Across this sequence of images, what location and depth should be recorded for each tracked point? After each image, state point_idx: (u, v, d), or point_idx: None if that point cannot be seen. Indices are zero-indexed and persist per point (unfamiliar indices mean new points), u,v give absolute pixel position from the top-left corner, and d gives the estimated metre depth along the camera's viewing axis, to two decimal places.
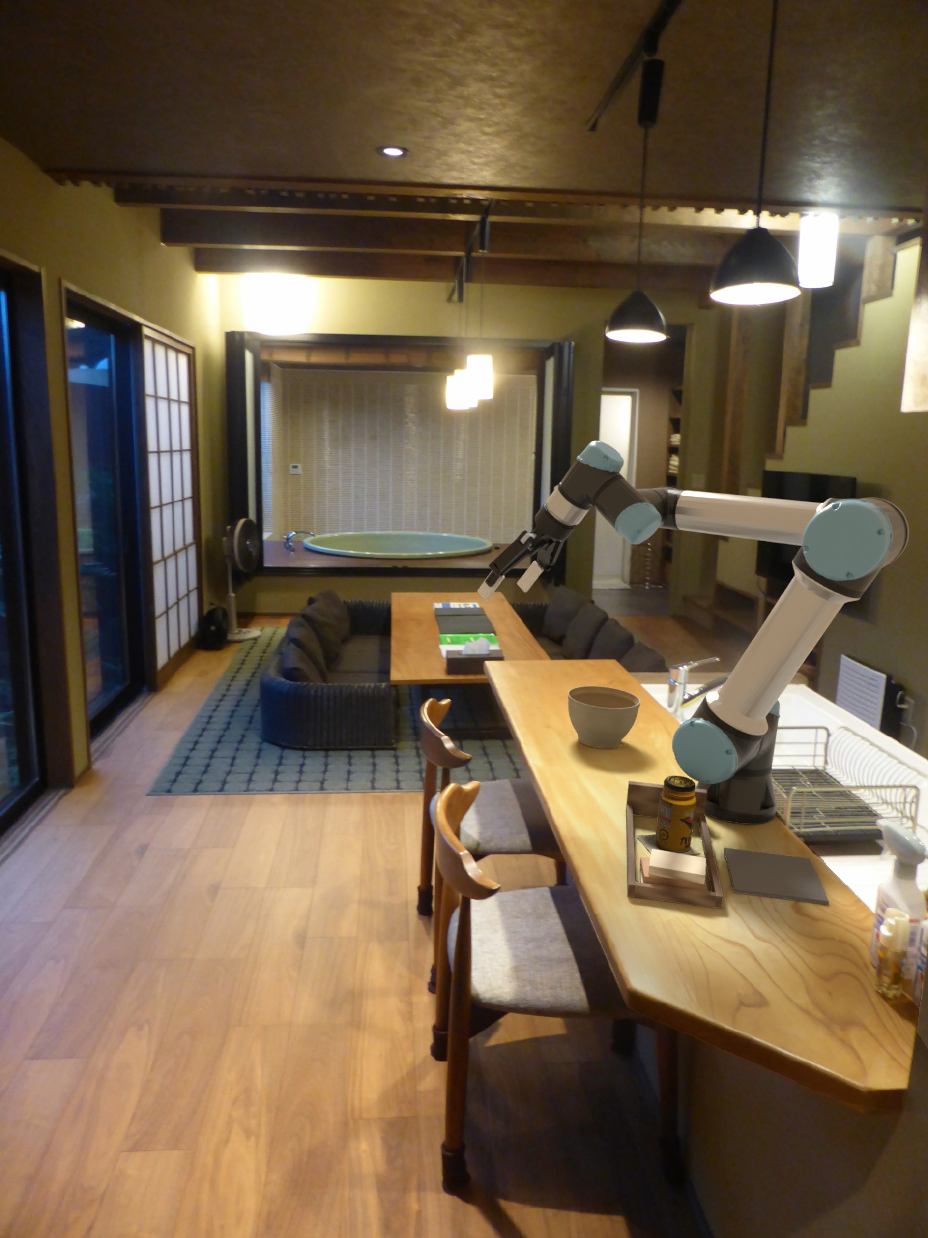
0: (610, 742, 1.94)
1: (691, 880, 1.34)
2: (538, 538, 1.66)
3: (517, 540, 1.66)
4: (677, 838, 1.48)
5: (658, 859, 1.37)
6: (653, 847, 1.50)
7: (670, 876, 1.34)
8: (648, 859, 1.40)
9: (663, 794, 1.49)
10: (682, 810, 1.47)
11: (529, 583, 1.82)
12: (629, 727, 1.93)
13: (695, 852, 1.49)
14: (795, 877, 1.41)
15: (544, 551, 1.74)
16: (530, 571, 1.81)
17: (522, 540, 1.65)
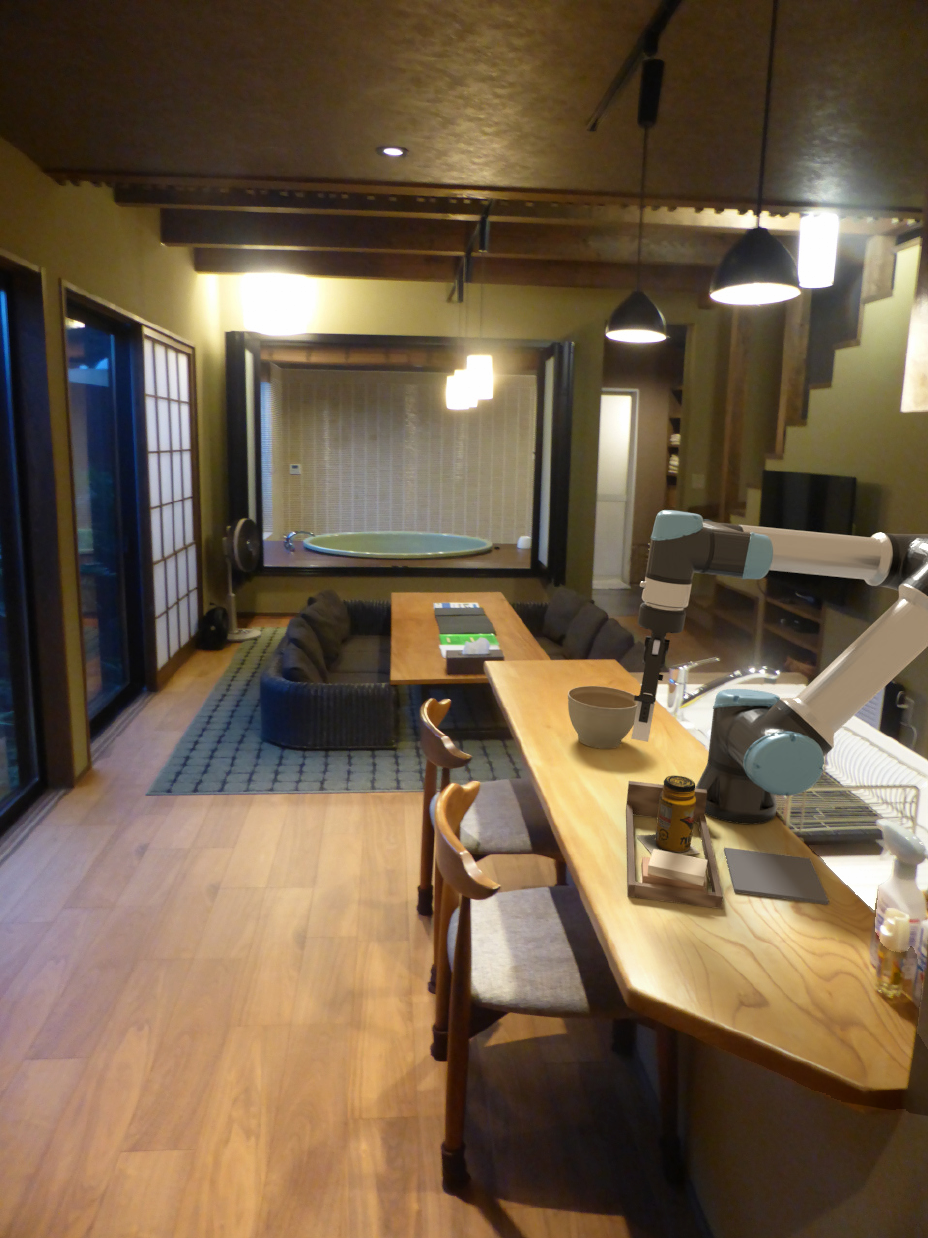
0: (610, 742, 1.94)
1: (690, 881, 1.33)
2: (663, 641, 1.41)
3: (649, 655, 1.39)
4: (677, 838, 1.48)
5: (658, 859, 1.37)
6: (653, 847, 1.50)
7: (669, 876, 1.34)
8: (649, 859, 1.40)
9: (663, 794, 1.49)
10: (682, 810, 1.47)
11: None
12: (629, 727, 1.93)
13: (695, 852, 1.49)
14: (795, 877, 1.41)
15: None
16: None
17: (654, 651, 1.39)
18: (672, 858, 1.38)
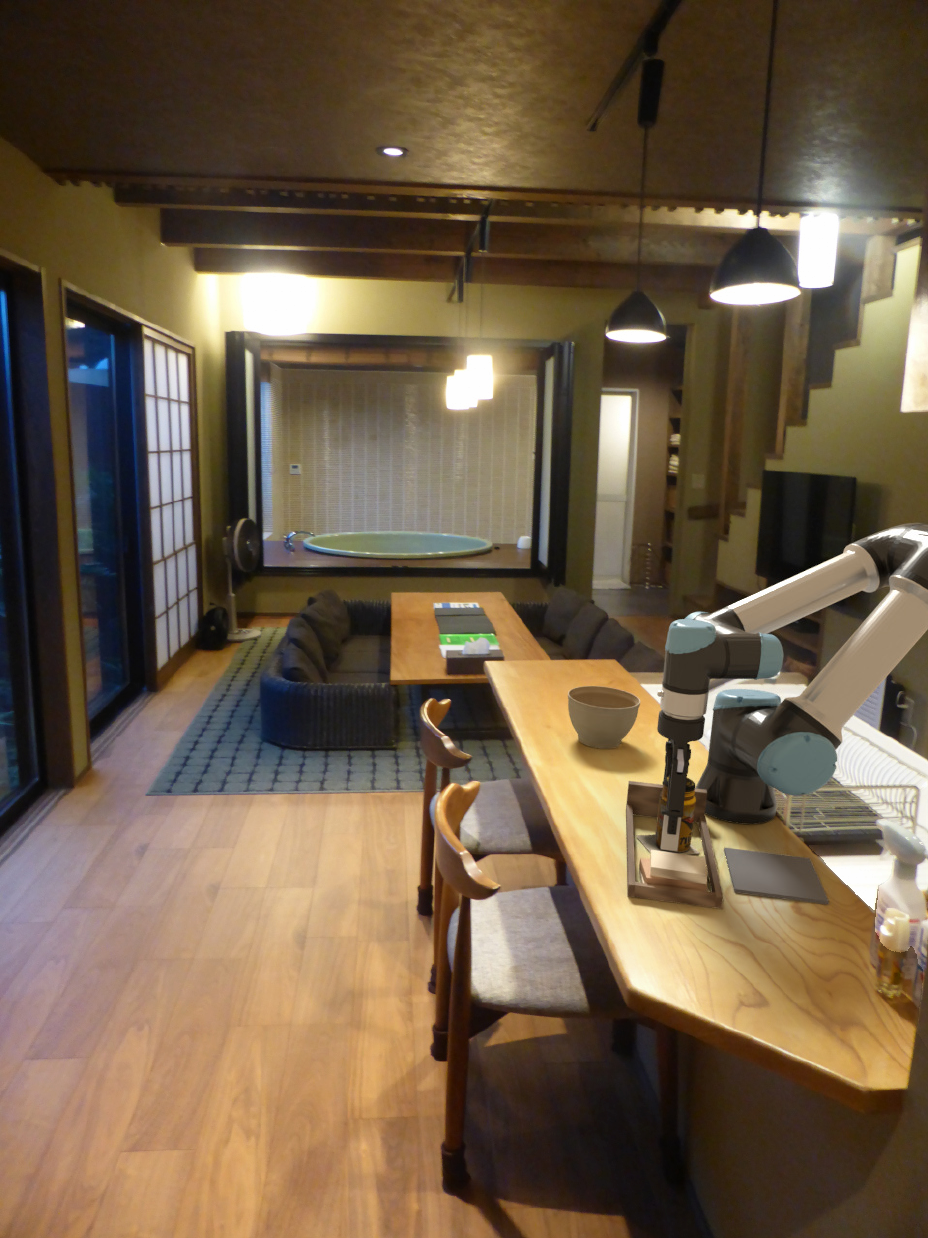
0: (610, 742, 1.94)
1: (693, 880, 1.34)
2: (686, 752, 1.43)
3: (674, 774, 1.42)
4: None
5: (659, 860, 1.37)
6: (653, 847, 1.50)
7: (672, 877, 1.34)
8: (648, 860, 1.40)
9: (663, 794, 1.49)
10: None
11: None
12: (629, 727, 1.93)
13: (695, 852, 1.49)
14: (795, 877, 1.41)
15: None
16: None
17: (679, 770, 1.42)
18: (671, 858, 1.38)
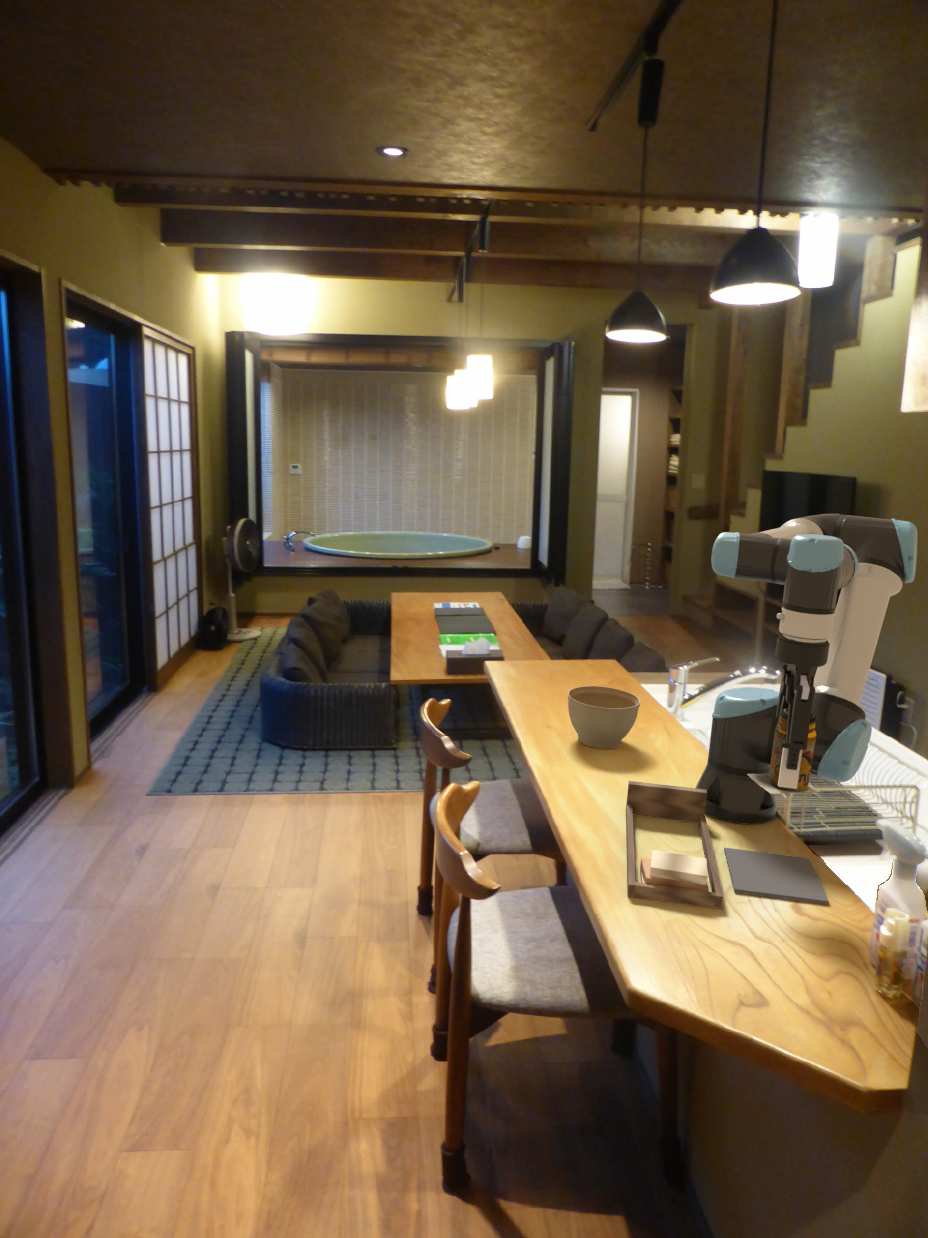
0: (610, 742, 1.94)
1: (693, 881, 1.33)
2: (810, 679, 1.31)
3: (797, 701, 1.30)
4: None
5: (659, 860, 1.37)
6: (768, 785, 1.38)
7: (672, 877, 1.34)
8: (649, 860, 1.40)
9: (780, 727, 1.37)
10: None
11: None
12: (629, 727, 1.93)
13: (815, 791, 1.37)
14: (795, 877, 1.41)
15: None
16: None
17: (804, 697, 1.29)
18: (672, 858, 1.38)
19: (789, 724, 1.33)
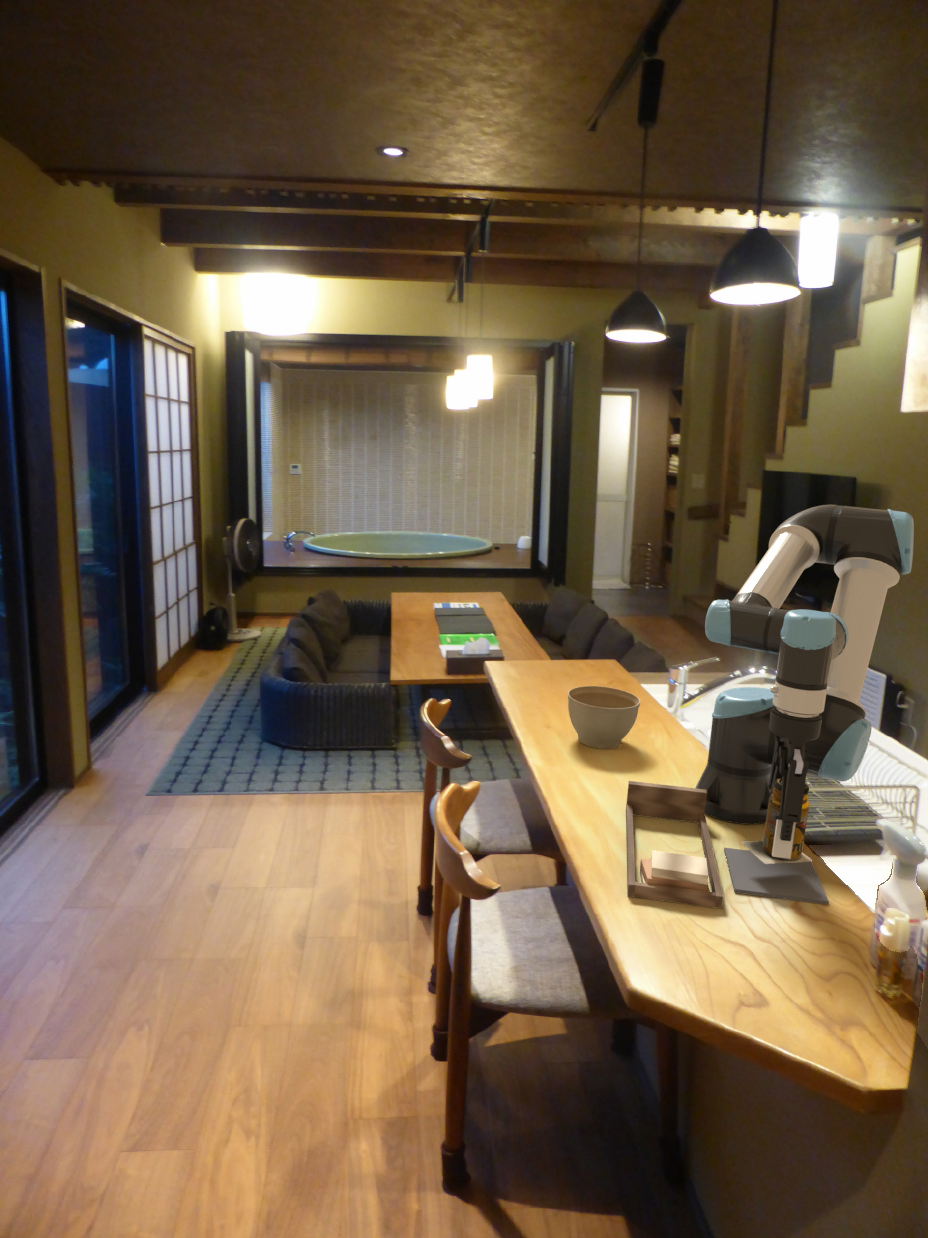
0: (610, 742, 1.94)
1: (694, 881, 1.33)
2: (803, 753, 1.33)
3: (791, 775, 1.32)
4: None
5: (660, 860, 1.37)
6: (762, 854, 1.40)
7: (673, 877, 1.34)
8: (648, 861, 1.40)
9: (773, 797, 1.39)
10: None
11: None
12: (629, 727, 1.93)
13: (808, 860, 1.39)
14: (795, 877, 1.41)
15: None
16: None
17: (798, 772, 1.32)
18: (672, 858, 1.37)
19: (783, 796, 1.35)
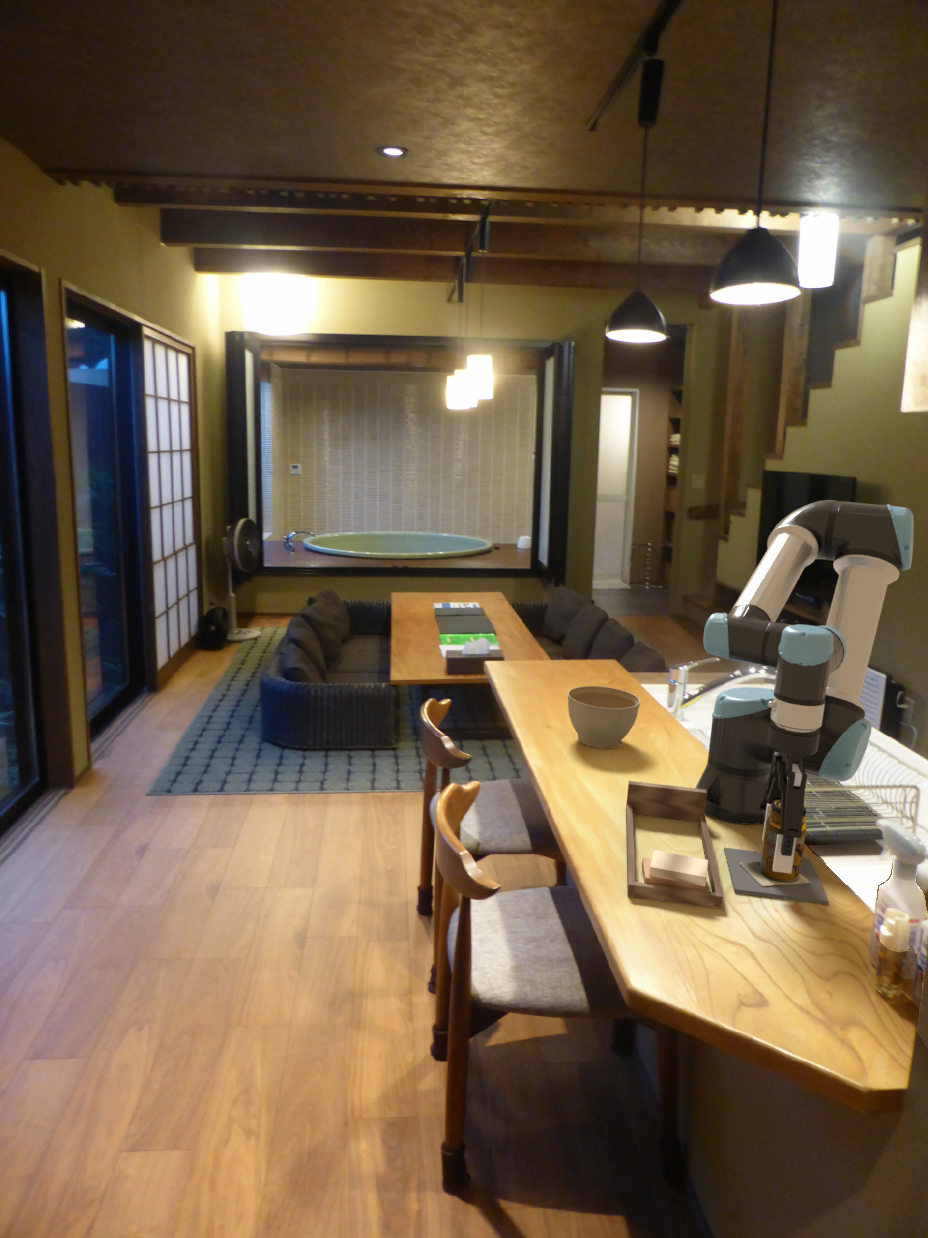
0: (610, 742, 1.94)
1: (692, 882, 1.33)
2: (801, 766, 1.34)
3: (790, 788, 1.32)
4: None
5: (660, 860, 1.37)
6: (759, 876, 1.41)
7: (671, 878, 1.34)
8: (650, 860, 1.40)
9: (771, 819, 1.40)
10: None
11: None
12: (629, 727, 1.93)
13: (805, 881, 1.40)
14: None
15: None
16: None
17: (796, 784, 1.32)
18: (673, 859, 1.37)
19: (783, 810, 1.35)
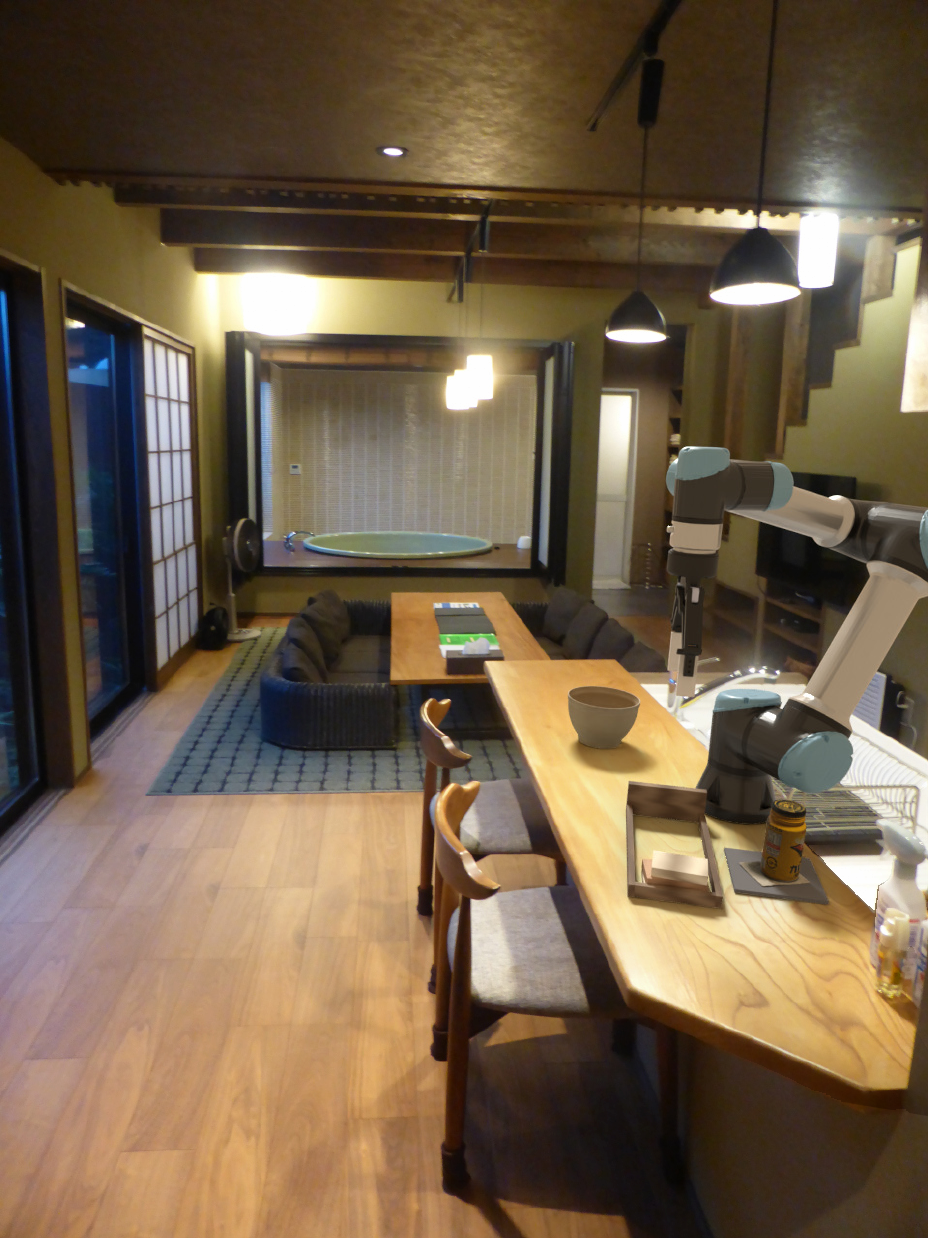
0: (610, 742, 1.94)
1: (694, 881, 1.33)
2: (699, 588, 1.31)
3: (688, 603, 1.29)
4: (787, 867, 1.39)
5: (660, 861, 1.37)
6: (759, 876, 1.41)
7: (673, 878, 1.34)
8: (650, 861, 1.40)
9: (771, 819, 1.40)
10: (793, 837, 1.37)
11: None
12: (629, 727, 1.93)
13: (805, 881, 1.40)
14: None
15: None
16: (675, 645, 1.44)
17: (694, 599, 1.29)
18: (673, 859, 1.37)
19: (683, 630, 1.31)
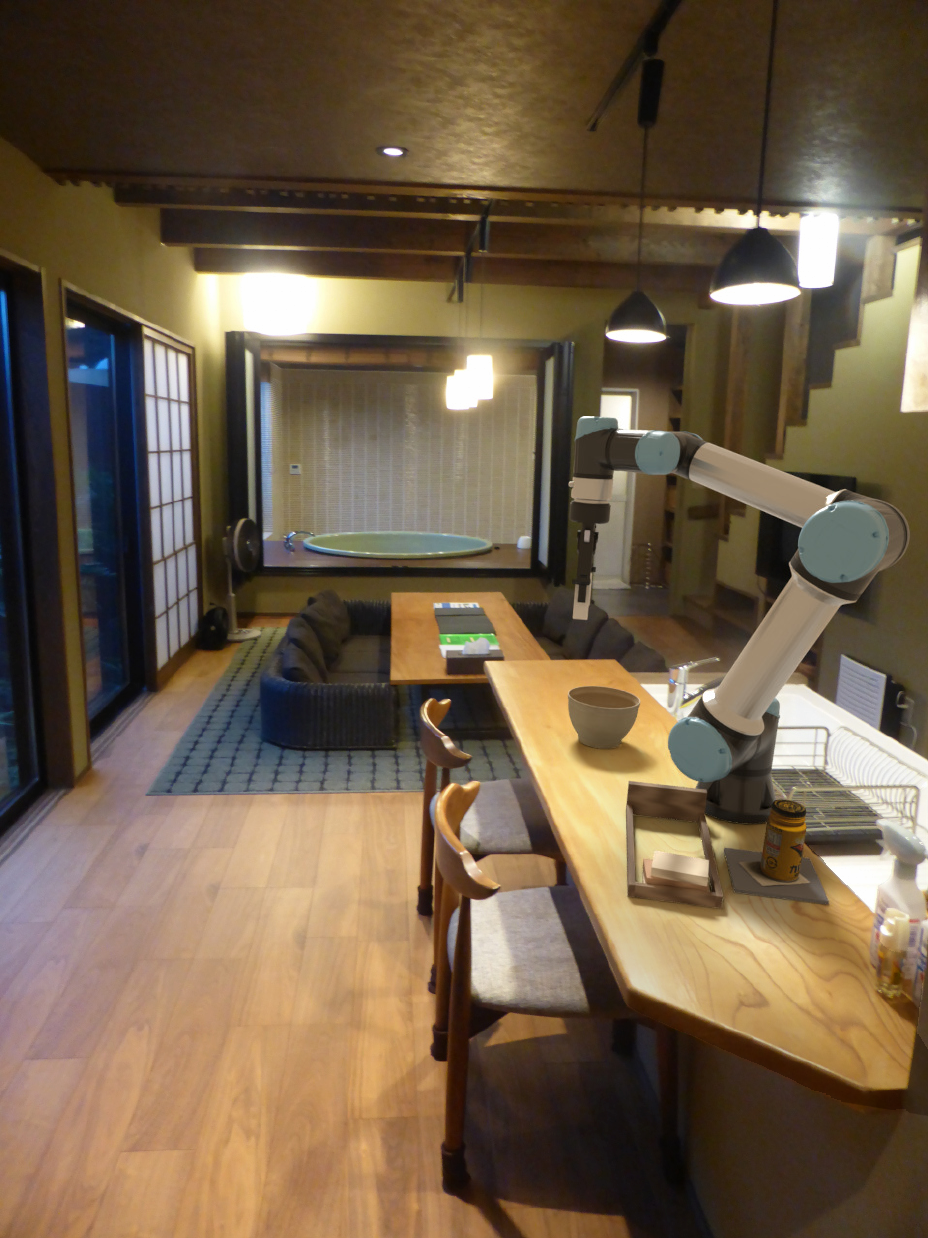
0: (610, 742, 1.94)
1: (694, 882, 1.33)
2: (593, 531, 1.62)
3: (581, 542, 1.59)
4: (787, 867, 1.39)
5: (661, 861, 1.37)
6: (759, 876, 1.41)
7: (673, 878, 1.34)
8: (651, 861, 1.40)
9: (771, 819, 1.40)
10: (792, 837, 1.37)
11: None
12: (629, 727, 1.93)
13: (805, 881, 1.40)
14: None
15: None
16: None
17: (586, 539, 1.59)
18: (674, 859, 1.37)
19: None
